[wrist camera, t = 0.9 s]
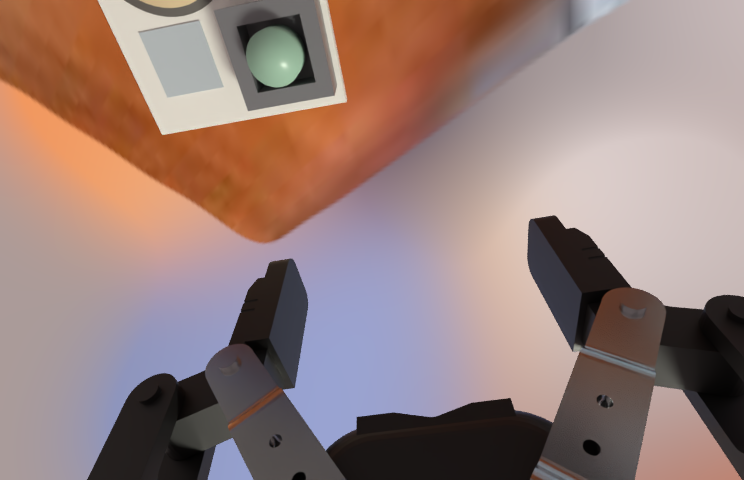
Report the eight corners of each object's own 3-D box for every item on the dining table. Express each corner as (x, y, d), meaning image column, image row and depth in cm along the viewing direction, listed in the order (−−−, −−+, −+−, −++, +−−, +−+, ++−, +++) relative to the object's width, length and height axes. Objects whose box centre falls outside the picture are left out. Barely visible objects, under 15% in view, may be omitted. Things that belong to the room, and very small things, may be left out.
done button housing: (228, 6, 30) (213, 10, 27) (317, -12, 30) (312, -10, 27) (258, 99, 34) (247, 111, 31) (337, 85, 33) (334, 95, 31)
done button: (248, 29, 29) (237, 34, 27) (298, 19, 29) (292, 23, 26) (264, 82, 31) (256, 91, 29) (311, 74, 31) (306, 82, 29)
